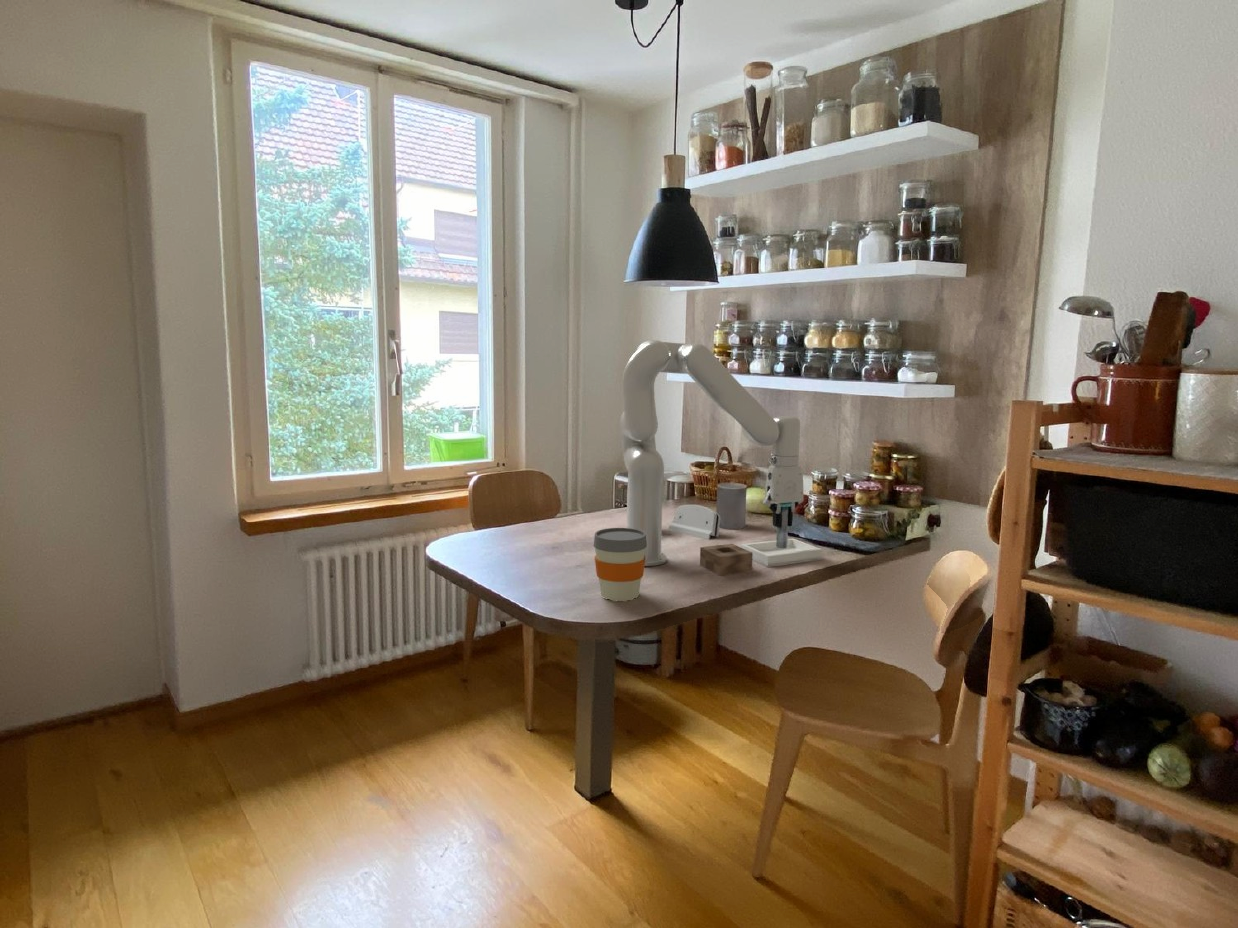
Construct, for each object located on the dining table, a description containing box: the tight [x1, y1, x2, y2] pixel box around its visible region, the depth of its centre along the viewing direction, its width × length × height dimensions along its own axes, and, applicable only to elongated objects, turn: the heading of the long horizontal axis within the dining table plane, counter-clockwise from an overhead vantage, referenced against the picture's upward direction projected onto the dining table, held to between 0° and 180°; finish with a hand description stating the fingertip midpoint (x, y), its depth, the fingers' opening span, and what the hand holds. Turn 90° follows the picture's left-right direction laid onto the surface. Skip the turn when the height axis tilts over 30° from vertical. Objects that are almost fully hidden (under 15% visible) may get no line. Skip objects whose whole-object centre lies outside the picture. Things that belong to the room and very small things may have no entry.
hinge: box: [667, 504, 720, 540], centre depth 237 cm, size 17×5×10 cm, turn 47°
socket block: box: [699, 543, 753, 576], centre depth 199 cm, size 10×10×5 cm
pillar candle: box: [715, 482, 748, 530], centre depth 246 cm, size 10×10×15 cm
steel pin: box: [775, 502, 792, 548], centre depth 209 cm, size 5×5×13 cm
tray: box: [740, 538, 823, 568], centre depth 210 cm, size 18×13×3 cm
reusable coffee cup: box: [593, 527, 647, 602], centre depth 176 cm, size 13×13×15 cm
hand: (782, 525), depth 209 cm, fingers closed on steel pin, 3 cm apart
